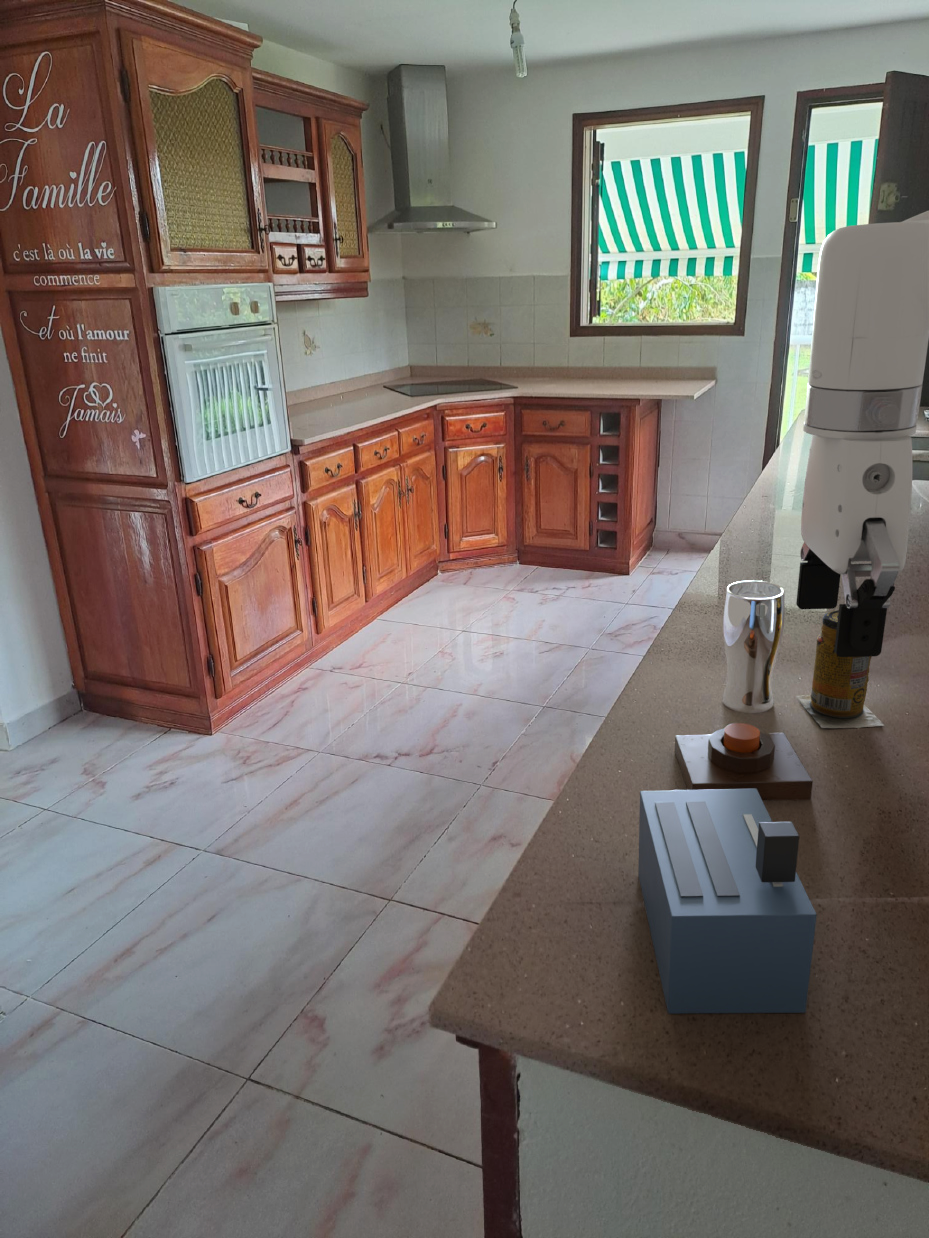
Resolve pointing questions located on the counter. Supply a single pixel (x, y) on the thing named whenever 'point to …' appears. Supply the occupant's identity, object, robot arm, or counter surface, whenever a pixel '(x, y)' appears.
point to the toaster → (720, 906)
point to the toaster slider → (777, 851)
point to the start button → (741, 737)
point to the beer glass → (752, 643)
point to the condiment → (838, 684)
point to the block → (743, 766)
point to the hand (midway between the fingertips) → (835, 629)
